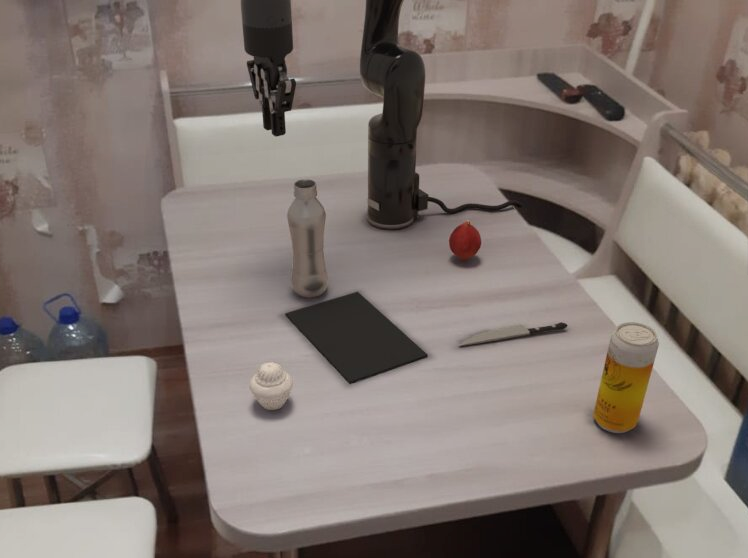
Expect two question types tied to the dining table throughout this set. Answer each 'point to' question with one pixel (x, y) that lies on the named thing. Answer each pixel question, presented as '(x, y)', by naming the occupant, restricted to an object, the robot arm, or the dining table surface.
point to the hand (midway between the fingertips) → (274, 131)
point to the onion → (465, 241)
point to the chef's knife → (510, 333)
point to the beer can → (625, 376)
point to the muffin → (271, 386)
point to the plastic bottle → (307, 240)
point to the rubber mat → (355, 336)
